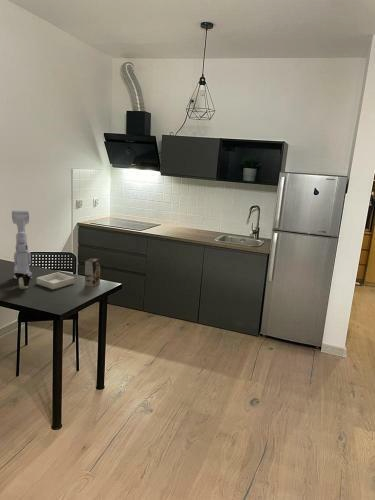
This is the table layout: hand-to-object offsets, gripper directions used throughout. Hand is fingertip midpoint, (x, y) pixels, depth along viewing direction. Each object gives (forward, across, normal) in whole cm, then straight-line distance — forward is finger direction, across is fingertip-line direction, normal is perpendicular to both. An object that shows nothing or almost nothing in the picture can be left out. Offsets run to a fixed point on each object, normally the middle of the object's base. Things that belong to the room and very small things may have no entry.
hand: (23, 285), depth 220 cm
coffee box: (+2, +25, +32) cm, 41 cm away
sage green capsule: (+2, 0, 0) cm, 2 cm away
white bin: (+2, +8, +17) cm, 19 cm away
